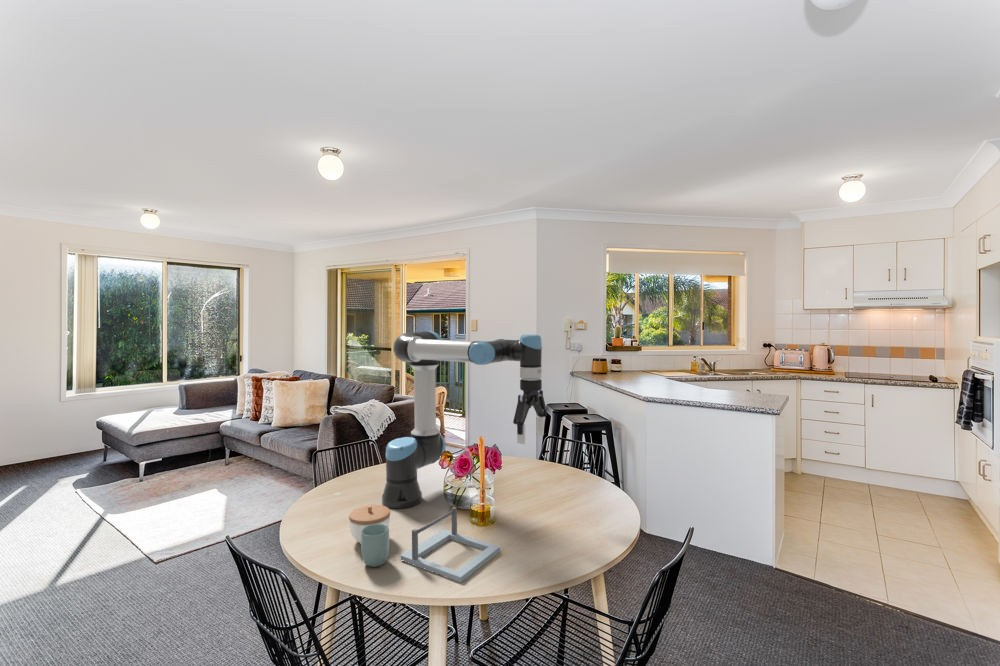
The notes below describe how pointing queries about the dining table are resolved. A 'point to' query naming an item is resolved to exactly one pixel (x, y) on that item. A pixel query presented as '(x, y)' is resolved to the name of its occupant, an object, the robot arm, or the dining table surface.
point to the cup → (375, 544)
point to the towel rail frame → (440, 538)
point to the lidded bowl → (367, 518)
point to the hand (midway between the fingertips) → (530, 439)
